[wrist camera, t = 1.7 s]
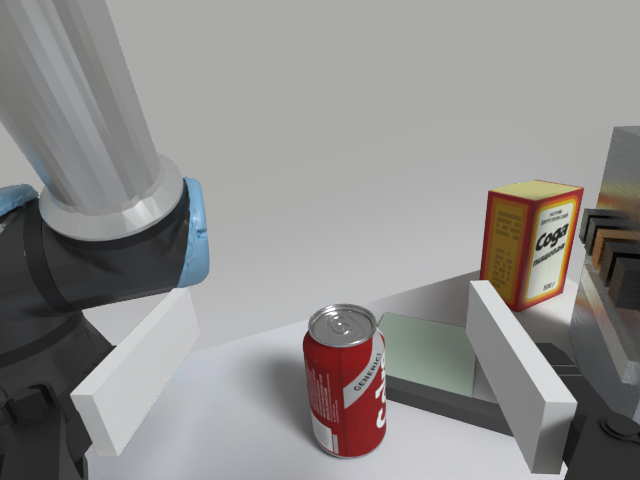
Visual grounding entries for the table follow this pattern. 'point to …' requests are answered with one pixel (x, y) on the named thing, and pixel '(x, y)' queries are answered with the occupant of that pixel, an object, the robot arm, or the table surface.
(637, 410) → the breaker panel
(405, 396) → the bar
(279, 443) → the table surface
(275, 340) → the table surface
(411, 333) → the mat
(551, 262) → the baking soda box
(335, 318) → the soda can
